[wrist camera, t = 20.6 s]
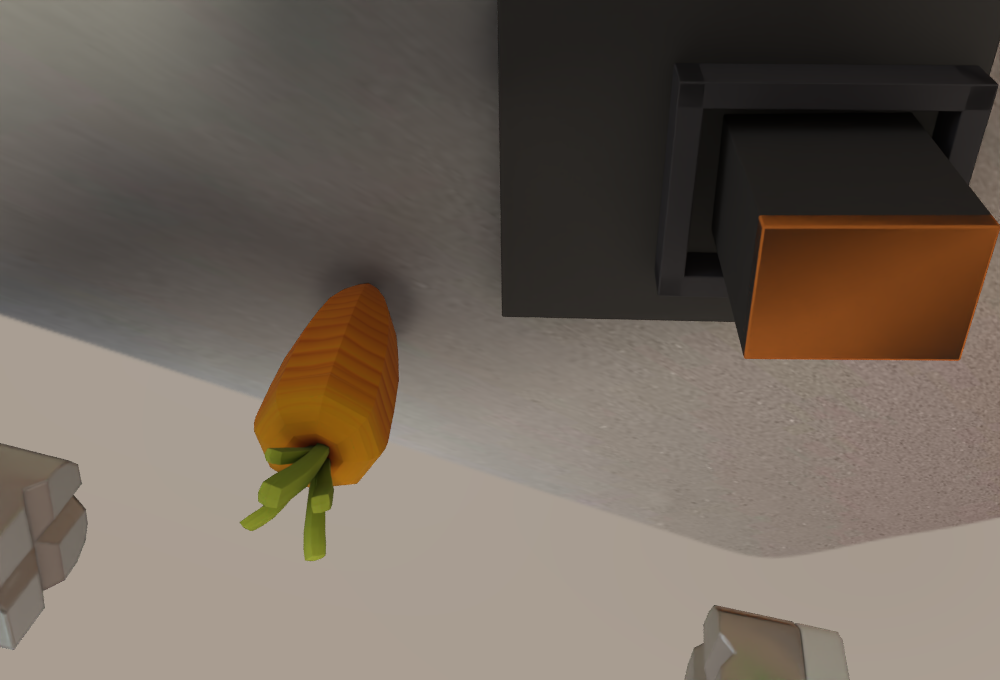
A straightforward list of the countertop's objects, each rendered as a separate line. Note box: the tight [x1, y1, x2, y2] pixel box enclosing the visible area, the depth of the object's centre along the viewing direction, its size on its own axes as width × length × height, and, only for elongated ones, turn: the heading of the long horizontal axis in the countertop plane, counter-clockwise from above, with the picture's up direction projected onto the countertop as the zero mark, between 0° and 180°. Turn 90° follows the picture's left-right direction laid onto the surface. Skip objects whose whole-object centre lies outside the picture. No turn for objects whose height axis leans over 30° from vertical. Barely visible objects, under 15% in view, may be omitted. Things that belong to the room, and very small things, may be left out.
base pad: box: [498, 0, 1000, 322], centre depth 37 cm, size 18×14×4 cm
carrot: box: [240, 283, 399, 561], centre depth 37 cm, size 5×5×15 cm
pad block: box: [711, 113, 1000, 361], centre depth 33 cm, size 7×5×9 cm
